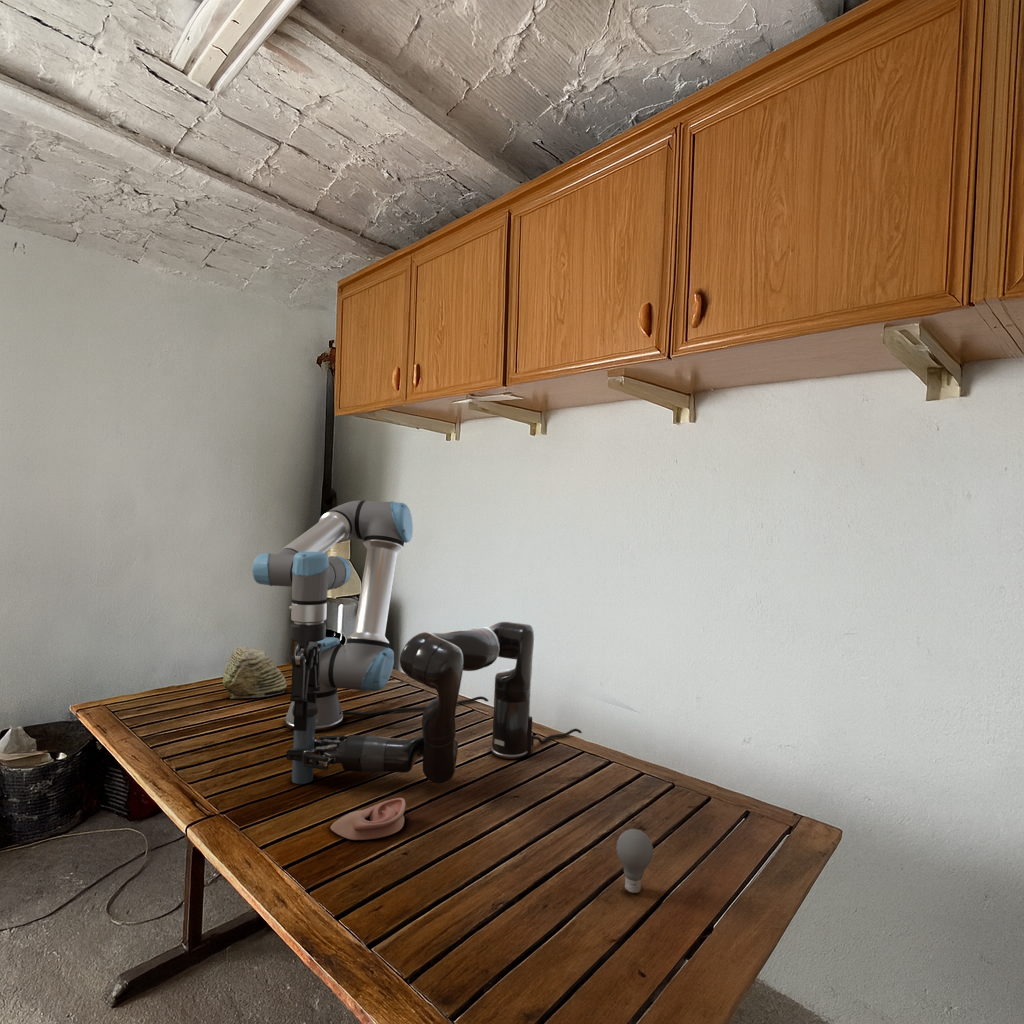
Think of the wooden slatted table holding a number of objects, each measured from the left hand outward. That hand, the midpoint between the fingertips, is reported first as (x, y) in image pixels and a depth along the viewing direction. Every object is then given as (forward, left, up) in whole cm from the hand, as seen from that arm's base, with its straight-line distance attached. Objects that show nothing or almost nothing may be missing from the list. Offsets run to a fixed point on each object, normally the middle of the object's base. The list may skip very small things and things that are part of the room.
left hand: (304, 725), depth 141 cm
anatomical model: (+3, +27, -12) cm, 29 cm away
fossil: (-23, -62, -12) cm, 67 cm away
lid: (0, 0, +4) cm, 4 cm away
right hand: (+2, -2, -6) cm, 6 cm away
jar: (0, 0, -12) cm, 12 cm away
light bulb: (-14, +75, -12) cm, 77 cm away
